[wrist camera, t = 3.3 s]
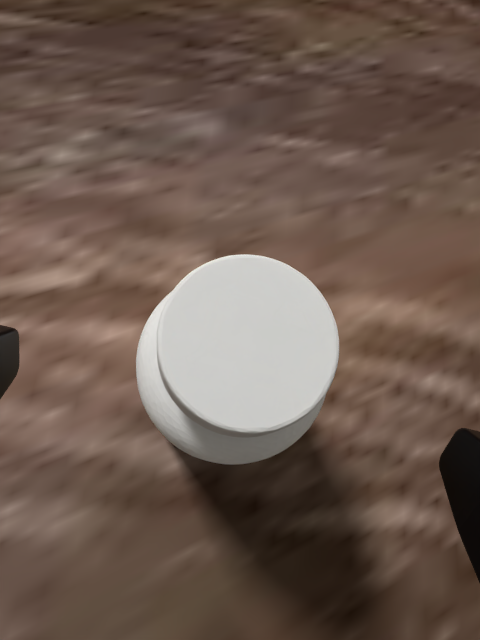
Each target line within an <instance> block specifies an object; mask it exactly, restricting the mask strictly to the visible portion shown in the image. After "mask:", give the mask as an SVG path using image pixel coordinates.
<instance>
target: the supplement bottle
mask: <svg viewBox="0 0 480 640" xmlns="http://www.w3.org/2000/svg"><path fill="white" fill-rule="evenodd" d="M338 357H339V337H338V331H337V326H336V322H335V319H334V316H333V314H332V311H331V309H330V307H329V305H328V303H327V302H326V300H325V298H324V297H323V295H322V294H321V292H320V291H319V290H318V289H317V288H316V286H315V285H314V284H313V283H312V282H311V281H310V280H309V279H308V278H307V277H305V276H304V275H303V274H301V273H300V272H298V271H297V270H295V269H294V268H292V267H291V266H289V265H287V264H285V263H282V262H280V261H277V260H275V259H272V258H268V257H264V256H257V255H232V256H226V257H222V258H218V259H215V260H212V261H210V262H208V263H205V264H203V265H202V266H200V267H198V268H196V269H195V270H193V271H192V272H190V273H189V274H188V275H187V276H186V277H185V278H184V279H182V280H181V281H180V283H179V284H178V285H177V286H176V287H175V288H174V290H173V291H172V292H170V293H169V294H168V295H167V296H166V297H165V298H164V299H163V300H162V301H161V302H160V303H159V304H158V306H157V307H156V308H155V310H154V311H153V312H152V314H151V316H150V317H149V319H148V321H147V323H146V324H145V326H144V329H143V332H142V334H141V337H140V340H139V344H138V349H137V357H136V374H137V383H138V389H139V393H140V397H141V400H142V403H143V405H144V408H145V410H146V412H147V414H148V416H149V418H150V419H151V421H152V422H153V424H154V425H155V426H156V428H157V429H158V430H159V432H160V433H161V434H162V435H163V436H164V437H165V438H166V439H167V440H168V441H169V442H171V443H172V444H173V445H174V446H176V447H177V448H179V449H180V450H182V451H183V452H185V453H187V454H189V455H190V456H193V457H196V458H199V459H202V460H205V461H209V462H213V463H219V464H229V465H237V464H248V463H252V462H257V461H260V460H264V459H267V458H269V457H272V456H274V455H276V454H278V453H280V452H282V451H284V450H285V449H287V448H288V447H290V446H291V445H292V444H294V443H295V442H296V441H297V440H298V439H300V438H301V437H302V435H303V434H304V433H305V432H306V431H307V430H308V429H309V428H310V427H311V425H312V423H313V422H314V420H315V419H316V417H317V415H318V413H319V411H320V410H321V407H322V405H323V402H324V399H325V396H326V393H327V391H328V389H329V387H330V385H331V383H332V381H333V378H334V376H335V373H336V369H337V365H338Z"/></svg>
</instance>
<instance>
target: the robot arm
mask: <svg viewBox="0 0 480 640" xmlns="http://www.w3.org/2000/svg"><path fill="white" fill-rule="evenodd" d="M18 369H19V334H18V331H17V330H16V329H14V328H11V327H7V326H2V325H0V399H1V397H2V396H3V394H4V393H5V392H6V390H7V389H8V387H9V386H10V384H11V383H12V381H13V380H14V378H15V377H16V375H17V372H18ZM439 468H440V472H441V476H442V479H443V482H444V486H445V489H446V492H447V496H448V499H449V502H450V506H451V509H452V512H453V516H454V519H455V522H456V525H457V528H458V531H459V534H460V536H461V539H462V542H463V544H464V547H465V549H466V551H467V554H468V556H469V559H470V561H471V563H472V566H473V568H474V571H475V573H476V575H477V578H478V580H479V583H480V432H479V431H475V430H471V429H466V428H461V429H458V430H457V431H456V432H455V434H454V435H453V437H452V438H451V440H450V442H449V443H448V445H447V446H446V448H445V450H444V451H443V453H442V455H441V457H440V461H439Z"/></svg>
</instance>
